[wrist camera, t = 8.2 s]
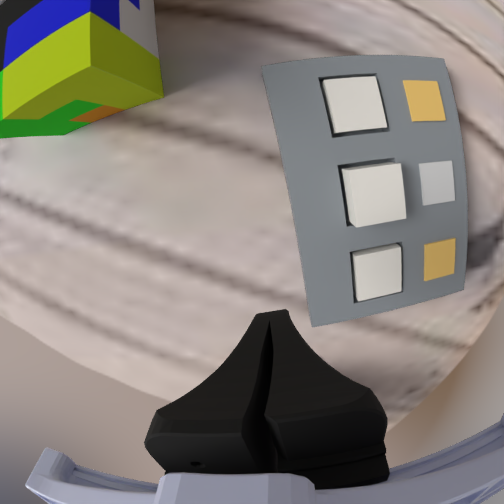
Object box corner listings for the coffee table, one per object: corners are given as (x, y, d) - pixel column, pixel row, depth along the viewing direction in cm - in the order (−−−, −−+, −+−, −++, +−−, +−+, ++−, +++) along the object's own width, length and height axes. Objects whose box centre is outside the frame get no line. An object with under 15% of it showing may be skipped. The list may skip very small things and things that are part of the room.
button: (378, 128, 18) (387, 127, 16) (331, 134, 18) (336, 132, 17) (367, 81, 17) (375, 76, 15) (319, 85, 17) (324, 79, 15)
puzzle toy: (153, -3, 15) (98, -62, 6) (164, 97, 19) (90, 65, 9) (59, 42, 16) (-14, 19, 7) (63, 135, 20) (-24, 140, 10)
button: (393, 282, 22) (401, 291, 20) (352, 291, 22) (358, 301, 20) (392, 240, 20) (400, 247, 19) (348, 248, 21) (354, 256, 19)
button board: (452, 280, 22) (464, 290, 20) (309, 314, 23) (312, 329, 21) (431, 64, 16) (445, 58, 14) (262, 74, 18) (261, 65, 16)
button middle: (396, 213, 18) (406, 218, 17) (349, 221, 19) (356, 227, 17) (390, 162, 17) (400, 163, 16) (341, 168, 18) (348, 170, 16)
